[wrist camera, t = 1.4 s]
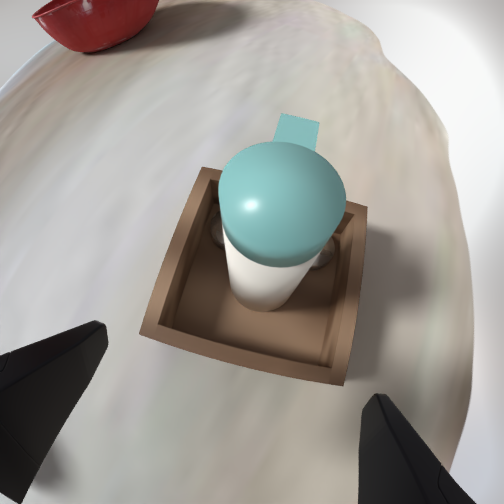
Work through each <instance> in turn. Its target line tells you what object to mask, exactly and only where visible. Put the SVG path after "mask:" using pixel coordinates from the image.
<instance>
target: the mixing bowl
mask: <svg viewBox="0 0 504 504" xmlns="http://www.w3.org/2000/svg"><path fill="white" fill-rule="evenodd" d="M158 2H159V0H52V1H51V2H49V3H48V4H46V5H45V6H43V7H42V8H40V9H39V10H38V11H37V12H35V13H34V14H33V16H32V18H35V20H36V21H37V22H38V23H39V25H40V26H41V27H42V28H43V29H44V30H45V31H46V32H47V33H48V34H49V35H50V36H51V37H53V38H54V39H55V40H56V41H58V42H59V43H60V44H62V45H63V46H65V47H67V48H68V49H70V50H73V51H77V52H97V51H101V50H104V49H107V48H110V47H113V46H115V45H117V44H120V43H122V42H124V41H126V40H128V39H130V38H132V37H133V36H135V35H136V34H137V33H139V32H140V31H141V29H142V28H143V27H145V26H146V24H147V23H148V22H149V21H150V20H151V18H152V16H153V14H154V12H155V10H156V7H157V5H158Z"/></svg>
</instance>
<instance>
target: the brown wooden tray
mask: <svg viewBox="0 0 504 504" xmlns="http://www.w3.org/2000/svg"><path fill="white" fill-rule="evenodd" d="M222 172H223V171H222V170H217V169H212V168H206V167H202V168H201V170H200V172H199V175H198V177H197V179H196V181H195V184H194V186H193V188H192V191H191V193H190V195H189V198H188V200H187V202H186V205H185V207H184V209H183V212H182V214H181V217H180V219H179V222H178V224H177V227H176V229H175V232H174V234H173V237H172V239H171V242H170V245H169V247H168V250H167V253H166V255H165V258H164V261H163V263H162V266H161V269H160V272H159V274H158V277H157V280H156V283H155V286H154V289H153V292H152V295H151V298H150V301H149V304H148V307H147V310H146V313H145V316H144V319H143V322H142V325H141V329H140V332H139V334H140V335H142V336H145V337H148V338H151V339H154V340H156V341H159V342H162V343H165V344H168V345H171V346H174V347H177V348H180V349H183V350H186V351H189V352H193V353H196V354H199V355H203V356H206V357H209V358H213V359H216V360H220V361H224V362H227V363H231V364H235V365H239V366H243V367H247V368H251V369H255V370H259V371H264V372H268V373H272V374H277V375H282V376H287V377H292V378H297V379H302V380H307V381H313V382H319V383H325V384H331V385H338V386H343V385H344V381H345V376H346V372H347V367H348V362H349V357H350V352H351V347H352V341H353V336H354V330H355V324H356V318H357V311H358V304H359V297H360V290H361V281H362V273H363V263H364V252H365V240H366V226H367V206H363V205H360V204H357V203H353V202H350V201H346V207H345V212H344V215H343V218H342V219H341V221H340V223H339V225H338V226H337V228H336V229H335V231H334V233H333V234H332V236H331V237H332V239H333V241H334V245H335V252H334V255H333V257H332V259H331V260H330V261H329V262H328V264H327V265H326V266H325V267H323V268H322V269H320V270H315V271H311V270H308V271H307V273H306V274H305V276H304V277H303V279H302V280H301V282H300V283H299V284H298V286H297V287H296V289H295V290H294V292H293V293H292V294H291V296H290V297H289V299H288V300H287V301H286V302H285V303H284V304H283V305H282V306H280V307H279V308H277V309H275V310H272V311H268V312H257V311H253V310H250V309H248V308H246V307H244V306H243V305H241V304H240V303H239V302H238V301H237V300H236V298H235V297H234V295H233V293H232V290H231V286H230V279H229V272H228V265H227V257H226V250H224V249H221V248H220V247H218V246H217V245H216V244H215V243H214V241H213V239H212V235H211V230H210V223H211V220H212V218H213V216H214V215H215V214H216V213H217V212H218V211H220V202H219V189H218V187H219V180H220V177H221V174H222Z"/></svg>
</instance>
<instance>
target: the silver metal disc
mask: <svg viewBox="0 0 504 504" xmlns="http://www.w3.org/2000/svg"><path fill="white" fill-rule="evenodd" d="M334 252H335V245H334V241H333V239H332V237H330V239H329V240H328V242H327V243H326V245H325V246H324V248H323V249H322V251H321V252H320V254H319V255H318V257H317V258H316V260H315V261H314V263H313V264H312V266H311V267H310V268H309V270H311V271H315V270H320V269H322V268H323V267H325V266H326V265H327V264H328V262H329V261H330V260H331V259H332V257H333V255H334Z"/></svg>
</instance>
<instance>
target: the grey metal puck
mask: <svg viewBox="0 0 504 504" xmlns="http://www.w3.org/2000/svg"><path fill="white" fill-rule="evenodd" d="M210 230H211V235H212V239H213V241H214V243H215V244H216V245H217V246H218V247H220V248H221V249H224V250H225V242H224V234H223V226H222V218H221V210H220V211H218V212H217V213H216V214H215V215H214V216H213V218H212V220H211V223H210Z"/></svg>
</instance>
